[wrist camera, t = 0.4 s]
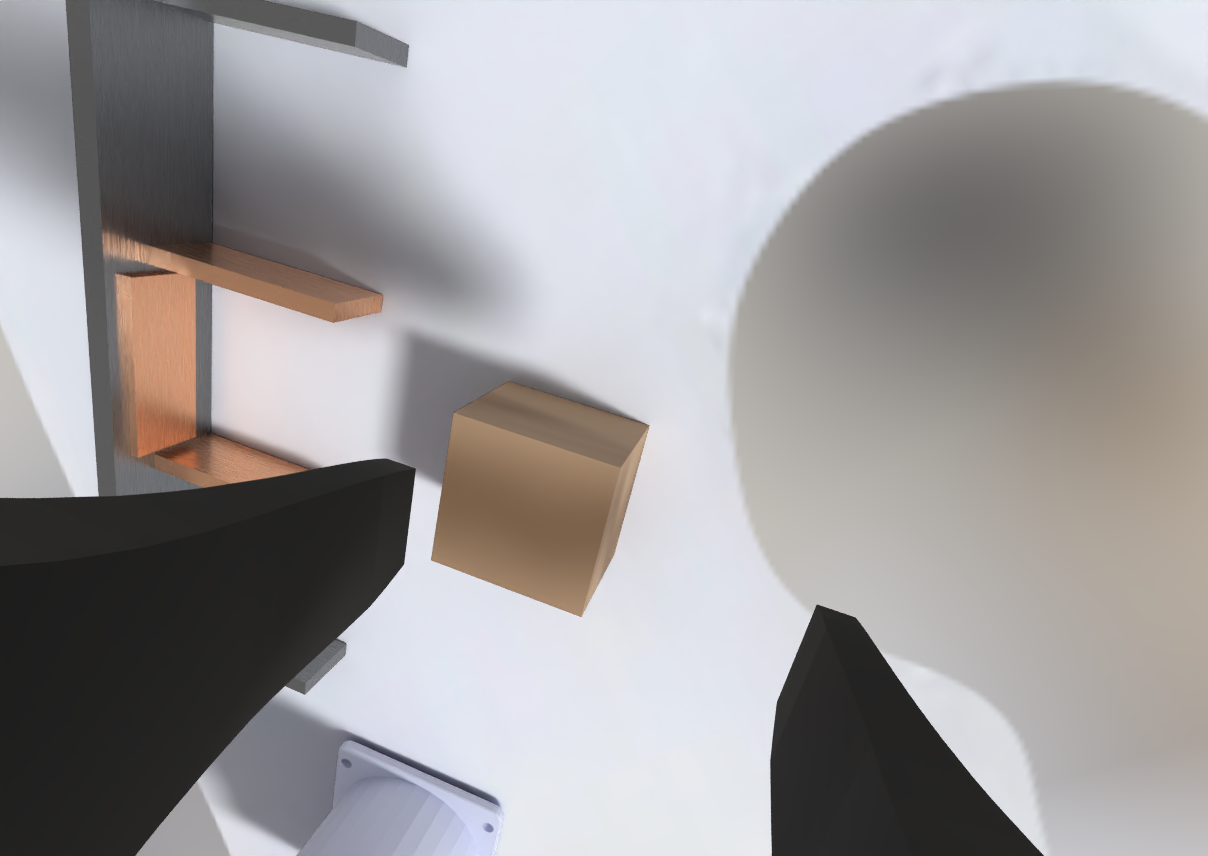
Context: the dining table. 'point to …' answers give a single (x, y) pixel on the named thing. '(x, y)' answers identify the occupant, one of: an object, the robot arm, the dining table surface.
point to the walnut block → (536, 493)
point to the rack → (176, 238)
